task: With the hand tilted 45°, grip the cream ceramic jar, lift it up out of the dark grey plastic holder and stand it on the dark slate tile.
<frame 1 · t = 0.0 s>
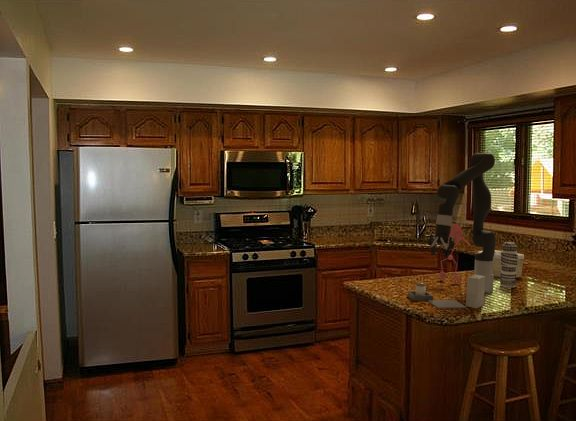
hand: (439, 256, 272), 22 cm above the countertop, tool pointing down, fingers open, 8 cm apart
decorative candle: (507, 286, 309), on the countertop
figurine: (453, 282, 317), on the countertop
grey holder: (420, 298, 276), on the countertop
skincare box: (474, 306, 262), on the countertop
storage basket: (499, 275, 339), on the countertop
cream jar: (420, 290, 276), in the grey holder
slate tile: (446, 304, 264), on the countertop
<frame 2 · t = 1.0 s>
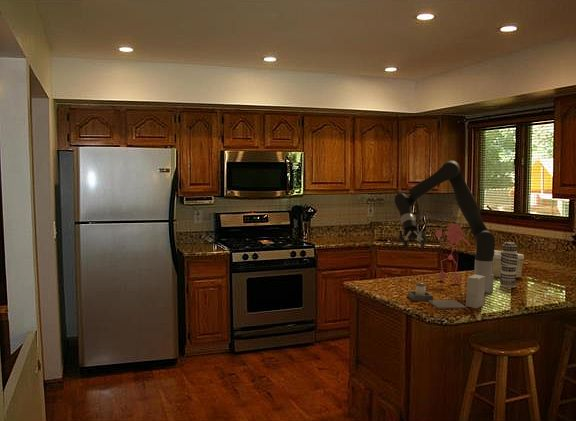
hand: (414, 247, 285), 25 cm above the countertop, tool tilted 45°, fingers open, 8 cm apart
nothing on the countertop moved.
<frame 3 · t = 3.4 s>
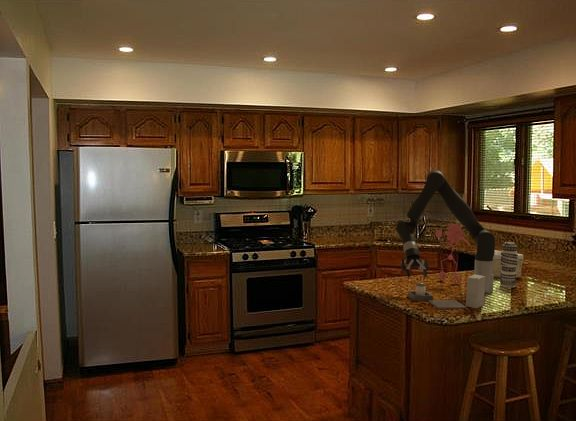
hand: (417, 276, 280), 10 cm above the countertop, tool tilted 45°, fingers open, 8 cm apart
nothing on the countertop moved.
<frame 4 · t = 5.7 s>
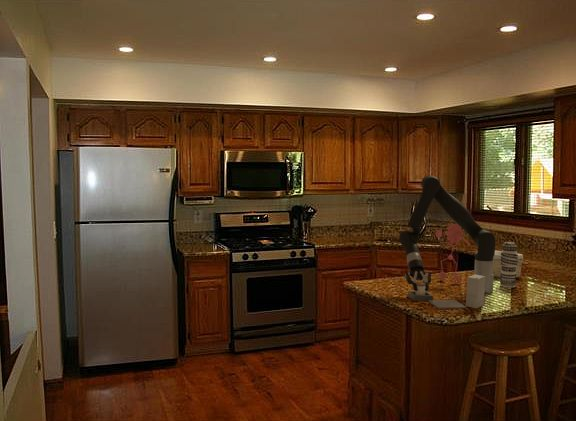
hand: (421, 290, 274), 5 cm above the countertop, tool tilted 45°, fingers closed on cream jar, 5 cm apart
cream jar: (420, 290, 276), in the grey holder, touching gripper
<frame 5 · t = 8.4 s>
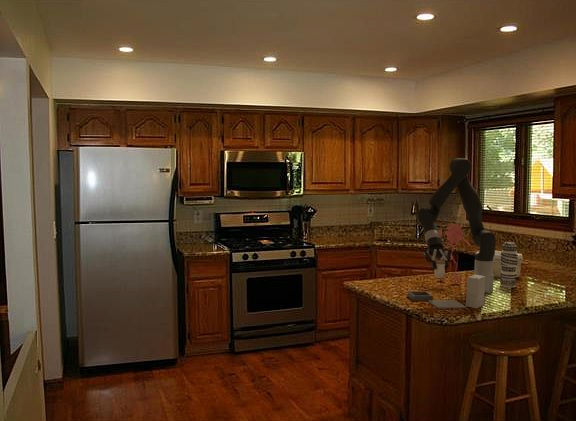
hand: (441, 268, 264), 18 cm above the countertop, tool tilted 45°, fingers closed on cream jar, 5 cm apart
cream jar: (439, 268, 266), point 17 cm above the countertop, touching gripper
when the fingers open (7 cm above the countertop, at t = 11.4 s): cream jar drops 1 cm, resting on slate tile.
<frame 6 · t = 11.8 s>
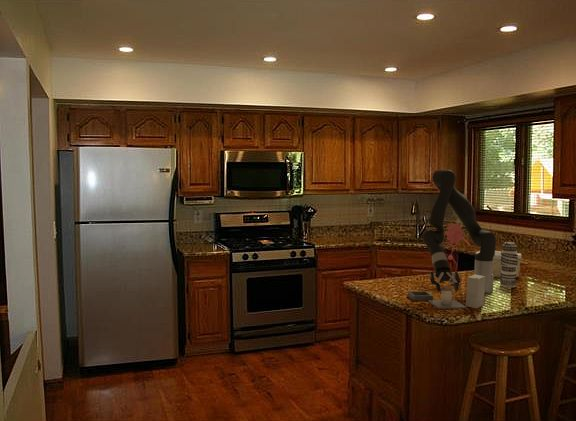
hand: (448, 290, 262), 7 cm above the countertop, tool tilted 45°, fingers open, 8 cm apart
cream jar: (446, 295, 263), on the slate tile, point 5 cm above the countertop
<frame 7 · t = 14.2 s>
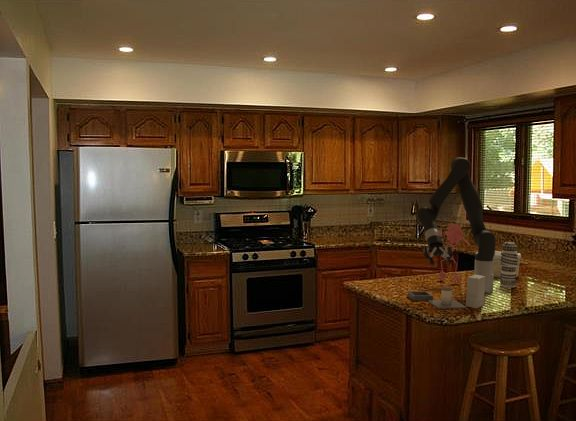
hand: (441, 264, 272), 18 cm above the countertop, tool tilted 45°, fingers open, 8 cm apart
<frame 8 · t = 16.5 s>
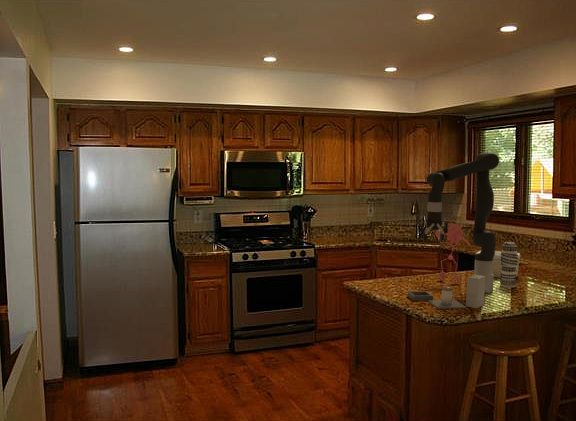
hand: (433, 241, 285), 28 cm above the countertop, tool pointing down, fingers open, 8 cm apart
at the end: cream jar inside the target area on the slate tile (0.1 cm from its centre), point 4.7 cm above the slate tile's base; cream jar tilted 2°; the gripper is holding nothing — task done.
